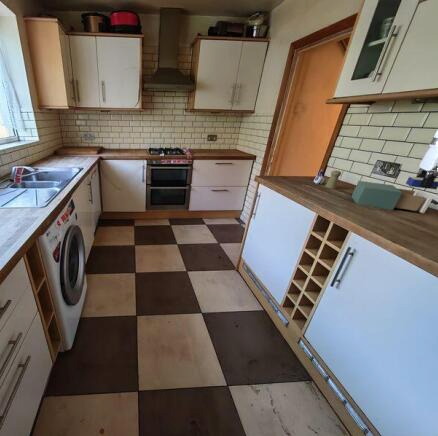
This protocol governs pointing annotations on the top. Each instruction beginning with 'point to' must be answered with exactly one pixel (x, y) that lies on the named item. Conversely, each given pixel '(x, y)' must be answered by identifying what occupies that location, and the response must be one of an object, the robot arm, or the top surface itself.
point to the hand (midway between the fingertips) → (421, 185)
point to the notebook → (417, 181)
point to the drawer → (414, 201)
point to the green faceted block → (376, 195)
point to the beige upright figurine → (333, 179)
